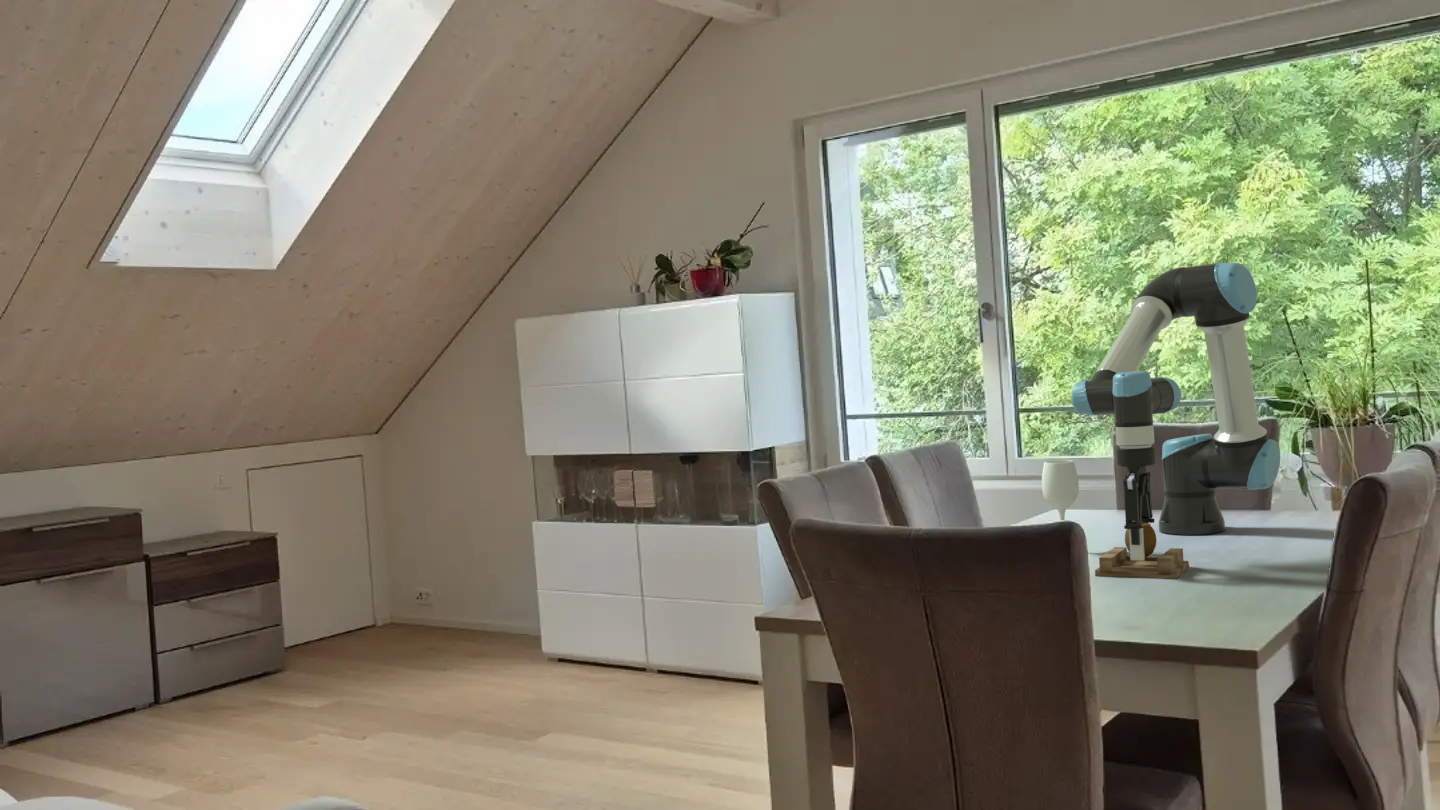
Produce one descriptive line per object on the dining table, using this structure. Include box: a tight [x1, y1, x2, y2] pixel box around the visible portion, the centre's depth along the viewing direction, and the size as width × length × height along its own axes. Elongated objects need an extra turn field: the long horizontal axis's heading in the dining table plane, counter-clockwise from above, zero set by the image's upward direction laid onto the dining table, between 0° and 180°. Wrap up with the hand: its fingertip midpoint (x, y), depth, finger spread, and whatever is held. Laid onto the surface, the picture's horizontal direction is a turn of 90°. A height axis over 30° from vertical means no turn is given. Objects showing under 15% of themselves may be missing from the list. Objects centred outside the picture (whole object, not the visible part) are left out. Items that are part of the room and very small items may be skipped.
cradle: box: [1094, 546, 1190, 579], centre depth 259 cm, size 13×16×4 cm
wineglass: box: [1041, 459, 1080, 521], centre depth 288 cm, size 9×9×21 cm
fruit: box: [1124, 521, 1157, 558], centre depth 259 cm, size 6×6×8 cm
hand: (1141, 557), depth 259 cm, fingers closed on fruit, 6 cm apart
